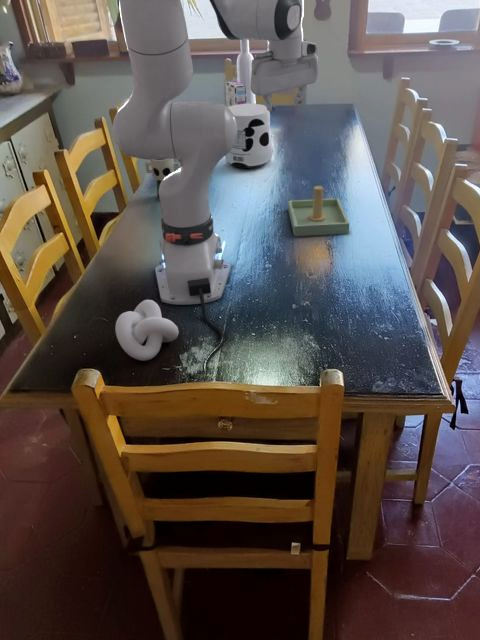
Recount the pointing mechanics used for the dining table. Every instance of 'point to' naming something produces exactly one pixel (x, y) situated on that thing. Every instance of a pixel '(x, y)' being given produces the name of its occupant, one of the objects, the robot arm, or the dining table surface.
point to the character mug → (161, 169)
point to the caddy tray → (318, 227)
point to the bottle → (245, 70)
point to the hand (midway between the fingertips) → (284, 106)
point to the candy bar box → (235, 93)
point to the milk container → (251, 136)
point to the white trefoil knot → (144, 330)
